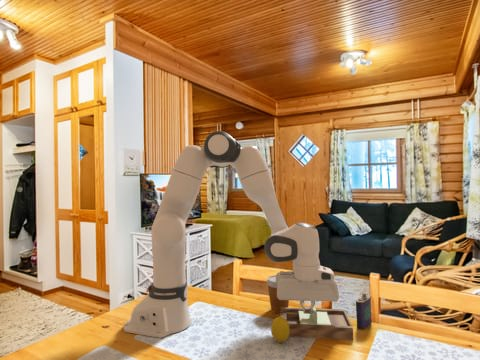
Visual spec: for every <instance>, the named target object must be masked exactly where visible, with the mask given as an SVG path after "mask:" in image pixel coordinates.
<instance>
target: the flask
mask: <svg viewBox="0 0 480 360" xmlns="http://www.w3.org/2000/svg"><path fill="white" fill-rule="evenodd" d="M361 294H362V295H361V297H359V298H357V299H356V300H355V305H356V306H355V312H356V313H355V314H356V316H355V317H356V329H357V328H358V329H357V330H359V329H361V330H360V331H365V330H367V328H369V327H370V325H371V324H372V302H371V301H372V299H371V298H372V296H371V295H370V294H369V293H364V292H361ZM364 329H365V330H364Z"/></svg>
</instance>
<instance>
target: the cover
mask: <svg viewBox="0 0 480 360" xmlns="http://www.w3.org/2000/svg"><path fill="white" fill-rule="evenodd" d="M316 309H317V308H316V305H315V306H314V307H313V309H312V314H303V311H299V319H300V324H312V325H331V323H330V320H329V317H328V314H327V312H316Z"/></svg>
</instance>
